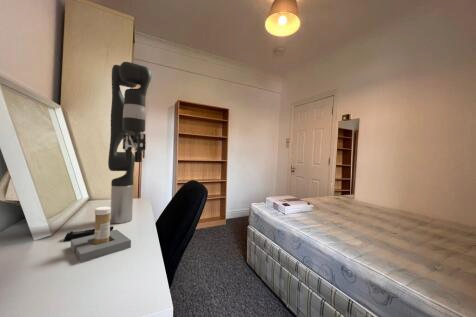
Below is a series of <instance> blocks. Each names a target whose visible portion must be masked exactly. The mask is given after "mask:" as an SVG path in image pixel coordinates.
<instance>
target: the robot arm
mask: <svg viewBox="0 0 476 317" xmlns="http://www.w3.org/2000/svg"><path fill="white" fill-rule="evenodd" d="M111 68H112V69H111V107H110V108H111V110H110V142H109V149H108V150H109V151H108V160H107V161H108V162H107V164H108V165H107V166H108V170H110V172H125V174H123V175H122V176H119V177H116V178H112V180H111V182H110V184H111V185H110V186H111V187H110V189H111V190H110V208H111V213H110V224H111V223H112V224H125V223H128V222H131V221H132V220H133V208H134V207H133V205H134V172H135V163H141V162H143V161H142V158H143V157H142V156H143V154H142V153H143V152H144V151H145V150H146V136H147V135H146V133H144V132H146V116H147V113H146V100H147V99H146V98H147V97H146V96H147V91H148V90H149V89H148V88H149V85H150V83H151V80H152V72H151V69H150V68H148V67H147V66H144V65H141V64H138V63H134V62H130V61H123V62H122V63H121V64H120V65H119V64H113V65H112V67H111ZM120 86H121V87H127V89H126V88H125V90H124V94H123V93H122V90H121V87H120ZM137 86H139V87H138V88H136V87H137ZM121 143H122V150H123V151H118V148H119V146H120V144H121ZM133 150H134V153H133Z"/></svg>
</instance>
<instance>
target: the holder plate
mask: <svg viewBox="0 0 476 317" xmlns="http://www.w3.org/2000/svg"><path fill="white" fill-rule="evenodd" d="M94 241H95V238H94V235H90V236H86V237H82V238H77V239H72V240H70V248H71V250H72V251H73V252H72V253H74V254H75V256H76V258H77V260H78V261H79V263H84V262H87V261H90V260H93V259H97V258H100V257H103V256H107V255H110V254H113V253H116V252H119V251H123V250H126V249H130V248H131V247H132V246H131V245H132V240H131V239H130V238H129V237H128V236H126V235H125V234H124V233H123V232H120V231H119V229H113V230H112V231H110V236H109V242H106V243H102V244H99V245H95V246H94Z"/></svg>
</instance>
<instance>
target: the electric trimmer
mask: <svg viewBox="0 0 476 317" xmlns="http://www.w3.org/2000/svg"><path fill="white" fill-rule="evenodd" d="M114 227H115V226H111V225H110V231H112V230H114ZM90 235H95V228H92V229H91V228H90V229H85V230H80V231H73V230H72V231H69V232H66V234H65V236H64V238H63V242H68V241H71V240H73V239H77V238H82V237H86V236H90Z"/></svg>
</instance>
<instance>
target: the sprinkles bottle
mask: <svg viewBox="0 0 476 317" xmlns="http://www.w3.org/2000/svg"><path fill="white" fill-rule="evenodd" d="M110 213H111V206H100V207H99V206H98V207H96V208H95V209H94V215H95V218H94V229H95V235H94V238H95V241H94V246H95V245H99V244H102V243H106V242H109V236H110V227H111V222H110Z"/></svg>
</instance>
